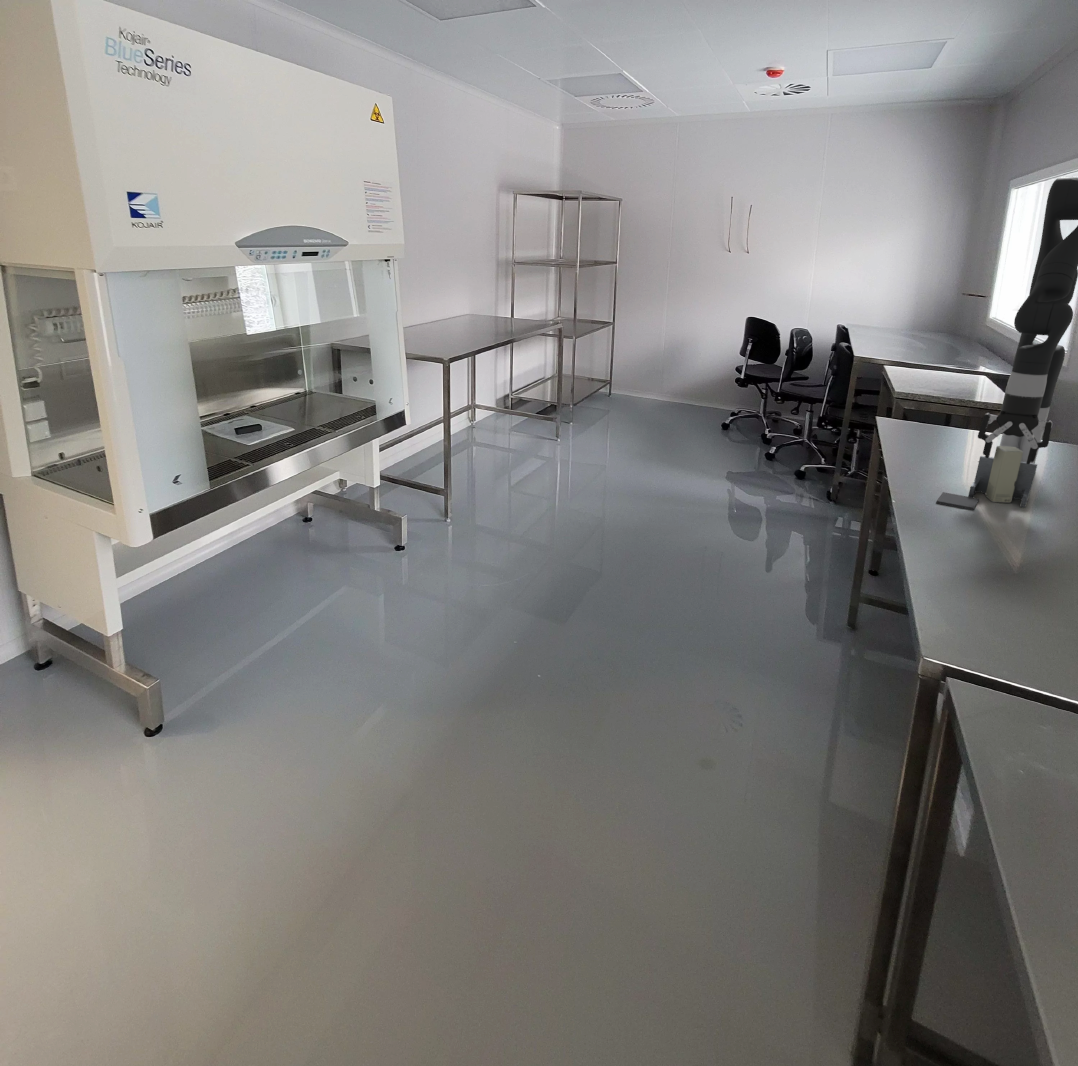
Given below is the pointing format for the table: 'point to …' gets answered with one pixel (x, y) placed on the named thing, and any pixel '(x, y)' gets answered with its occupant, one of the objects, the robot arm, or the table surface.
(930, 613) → the table surface
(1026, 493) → the rack bay
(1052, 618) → the table surface
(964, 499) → the mat
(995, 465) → the box
